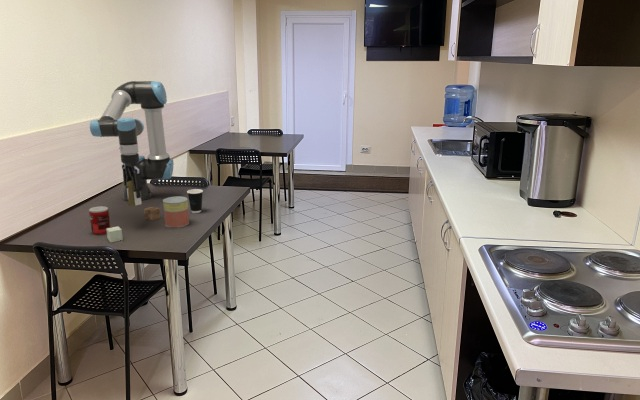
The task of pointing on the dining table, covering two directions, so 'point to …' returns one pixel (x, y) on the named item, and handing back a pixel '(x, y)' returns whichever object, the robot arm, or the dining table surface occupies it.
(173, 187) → the dining table surface
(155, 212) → the walnut cube
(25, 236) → the dining table surface
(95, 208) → the canned food
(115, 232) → the sage cube
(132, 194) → the cork
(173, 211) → the canned food
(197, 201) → the dixie cup
